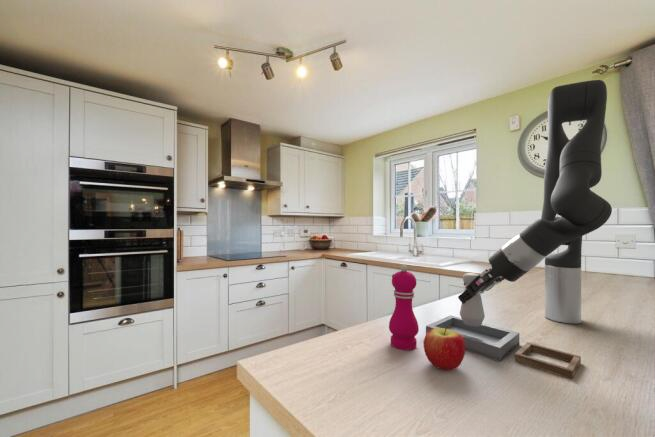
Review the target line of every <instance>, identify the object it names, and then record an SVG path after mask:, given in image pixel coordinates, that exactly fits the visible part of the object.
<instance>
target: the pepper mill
mask: <svg viewBox="0 0 655 437" xmlns="http://www.w3.org/2000/svg"><path fill="white" fill-rule="evenodd" d="M391 284H392V287H393V288H394V290H393V296H394V298H395V305H394V307H395V308H394V310H393V313H392V315H391V317H390V319H389V322H388V329H389V332H390V333H391V335H390V345H391V346H392V347H393V348H395V349H397V350H402V351H411V350H414V349H416V348H417V338H416V336H417V335H418V333H419V331H420V330H419V328H420V327H419V324H418V320H417V318H416V315H415V313H414V309H413V299H414V297H415V292H414V289H415V288H416V286H417V278H416V276H415V275H414V273H412V272H410V271H409V270H408V266H407V265H405V264H401V266H400V271H399V270H398V271H396V272H395V273H394V274H393V275H392V278H391Z"/></svg>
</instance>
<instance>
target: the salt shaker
mask: <svg viewBox="0 0 655 437" xmlns="http://www.w3.org/2000/svg"><path fill="white" fill-rule="evenodd" d="M479 275H480V274H478V273H473V272H469V273H467V272H466V273H464V274H463V276H462V281H463V282H464V283H465V286H464V291H466V290H467V289H466V287H467V286H468V285H469V284H470V283H471V282H472V281H473V280H474V279H475V278H476V277H477V276H479ZM474 290H475V289H474ZM464 291H463V292H464ZM459 317H460V318H462V320H463V322H464V324H466V325H469V326H480V325H481V324H482V323H483V321H484V320H485V317H486V316H485V311H484V304H483V299H482V294H481V293H478V294H477V296H474V297H472V298H471V299H470V300H467V301H466V302H465V303H464V304H463V303H462V302H461V305H460V310H459Z"/></svg>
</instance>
